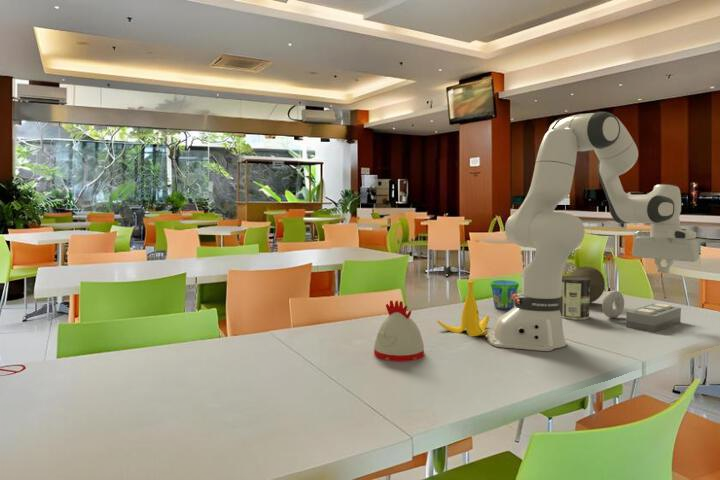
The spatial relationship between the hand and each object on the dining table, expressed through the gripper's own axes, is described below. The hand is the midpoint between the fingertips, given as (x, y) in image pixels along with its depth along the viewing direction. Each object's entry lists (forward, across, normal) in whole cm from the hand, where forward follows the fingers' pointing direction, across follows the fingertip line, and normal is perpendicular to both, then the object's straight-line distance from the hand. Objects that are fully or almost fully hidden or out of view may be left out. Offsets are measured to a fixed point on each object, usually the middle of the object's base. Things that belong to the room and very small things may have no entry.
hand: (663, 272), depth 179 cm
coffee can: (+17, -23, -16) cm, 33 cm away
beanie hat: (+17, -31, -94) cm, 100 cm away
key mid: (+13, 0, -6) cm, 15 cm away
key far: (+13, 0, 0) cm, 13 cm away
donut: (+17, -13, -8) cm, 23 cm away
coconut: (+17, -32, +8) cm, 37 cm away
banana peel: (+17, -35, -62) cm, 73 cm away
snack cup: (+17, -48, -23) cm, 56 cm away
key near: (+13, 0, -12) cm, 18 cm away
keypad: (+17, 0, -6) cm, 18 cm away
